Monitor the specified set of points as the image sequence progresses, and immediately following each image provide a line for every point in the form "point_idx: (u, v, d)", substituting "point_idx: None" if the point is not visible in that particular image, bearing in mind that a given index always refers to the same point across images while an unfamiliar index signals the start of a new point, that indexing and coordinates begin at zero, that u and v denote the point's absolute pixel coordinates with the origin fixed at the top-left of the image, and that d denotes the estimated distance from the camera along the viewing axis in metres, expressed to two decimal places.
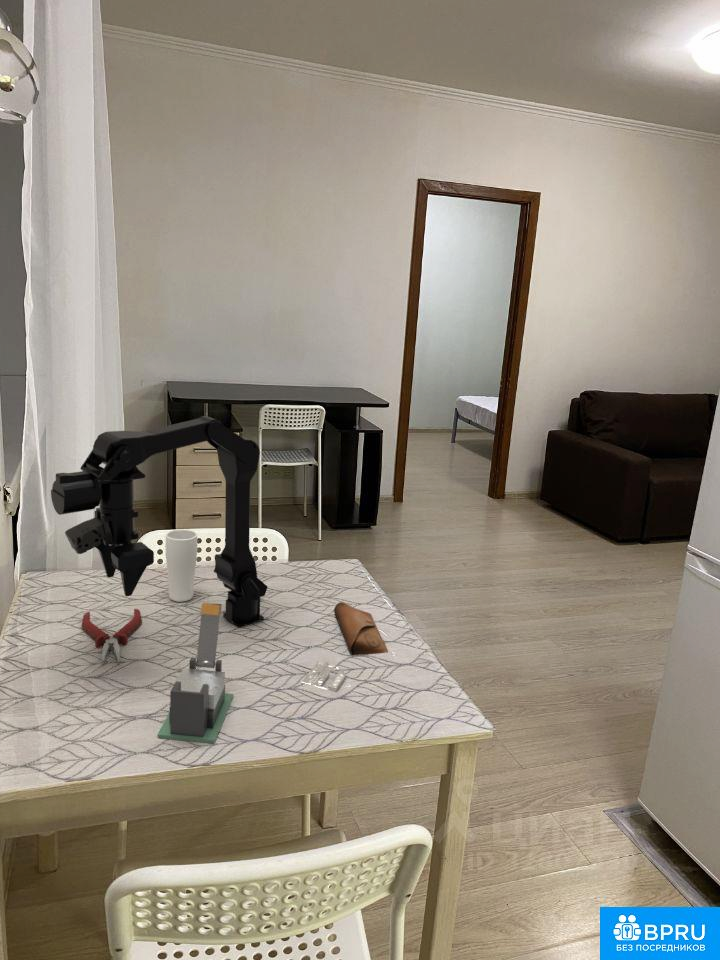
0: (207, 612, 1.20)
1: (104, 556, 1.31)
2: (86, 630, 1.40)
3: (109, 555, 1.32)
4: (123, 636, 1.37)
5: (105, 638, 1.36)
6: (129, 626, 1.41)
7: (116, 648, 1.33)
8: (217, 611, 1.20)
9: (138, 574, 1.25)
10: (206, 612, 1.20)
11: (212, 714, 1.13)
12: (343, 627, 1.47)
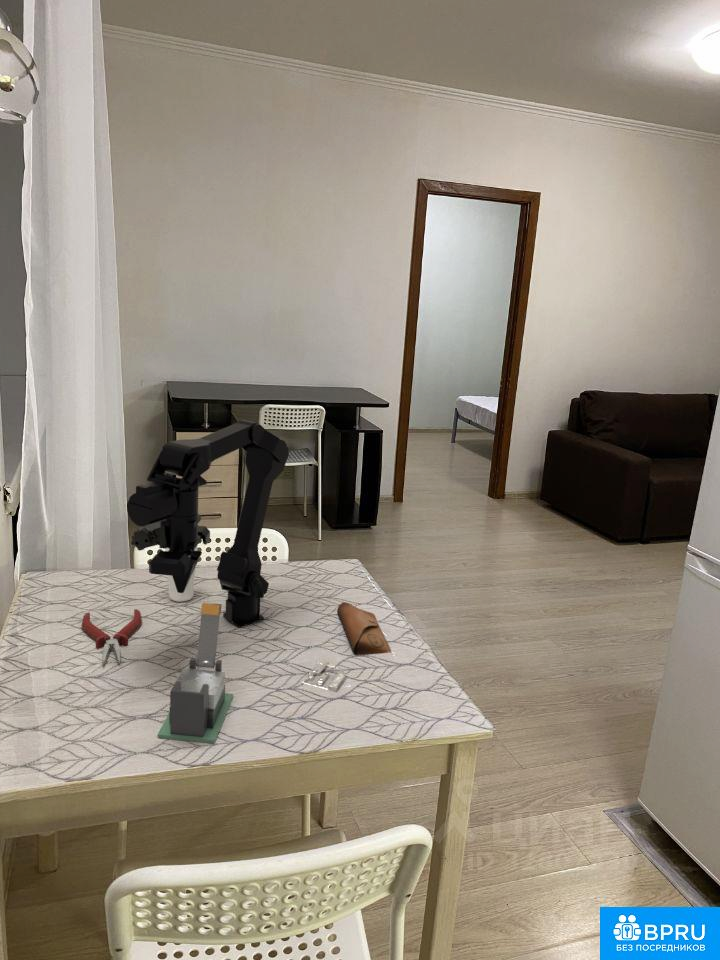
0: (207, 612, 1.20)
1: None
2: (86, 631, 1.40)
3: None
4: (123, 637, 1.37)
5: (105, 639, 1.36)
6: (129, 627, 1.41)
7: (117, 648, 1.33)
8: (217, 611, 1.20)
9: (186, 574, 1.29)
10: (206, 612, 1.20)
11: (212, 714, 1.13)
12: (346, 627, 1.47)
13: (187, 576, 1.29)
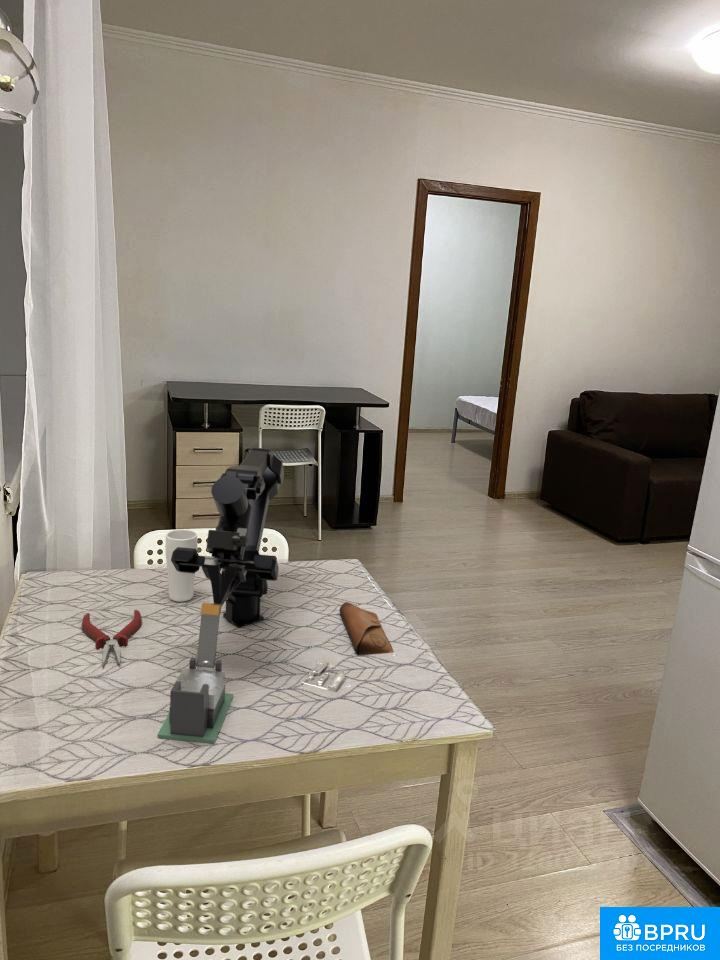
0: (207, 612, 1.20)
1: (218, 585, 1.27)
2: (86, 631, 1.40)
3: (219, 586, 1.27)
4: (123, 637, 1.36)
5: (105, 639, 1.35)
6: (129, 628, 1.40)
7: (117, 649, 1.33)
8: (217, 611, 1.20)
9: (231, 589, 1.28)
10: (206, 612, 1.20)
11: (212, 714, 1.13)
12: (349, 627, 1.47)
13: (231, 591, 1.28)
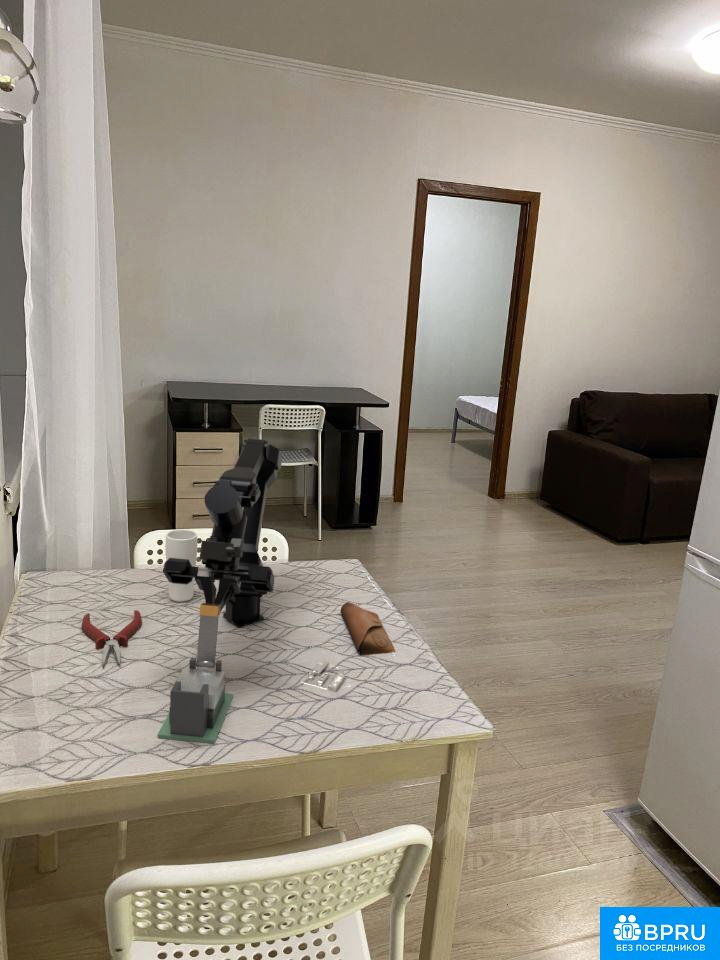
0: (206, 613, 1.19)
1: (212, 597, 1.22)
2: (86, 632, 1.39)
3: (213, 598, 1.23)
4: (123, 638, 1.36)
5: (105, 640, 1.35)
6: (129, 628, 1.40)
7: (117, 649, 1.33)
8: (216, 612, 1.19)
9: (225, 601, 1.24)
10: (205, 613, 1.19)
11: (212, 714, 1.13)
12: (350, 627, 1.47)
13: (225, 604, 1.24)
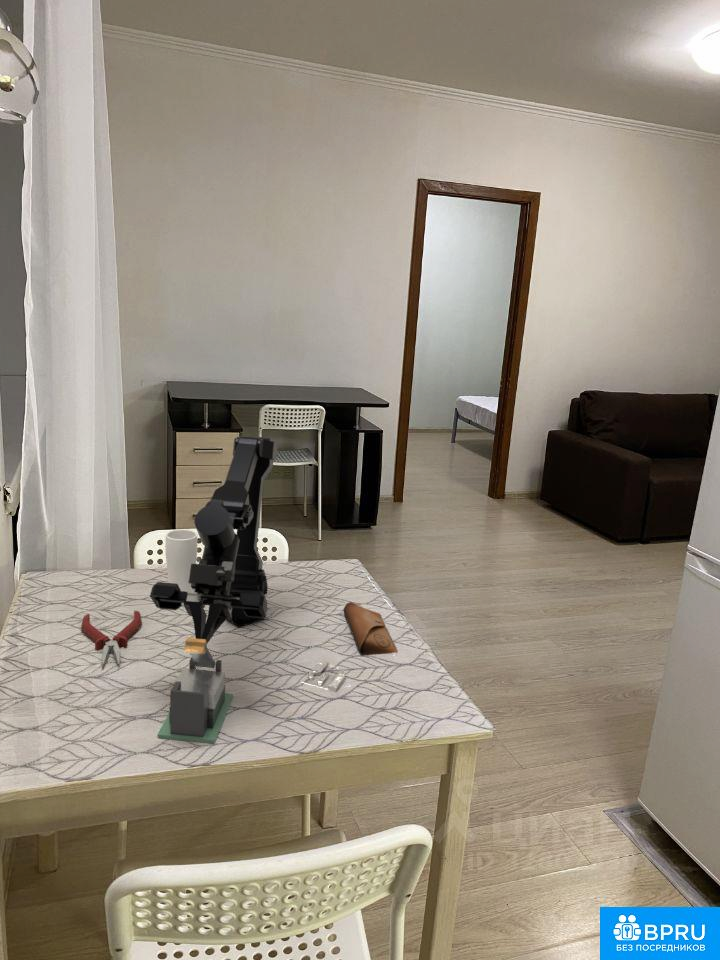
0: (192, 652, 1.12)
1: (201, 623, 1.16)
2: (86, 632, 1.39)
3: (202, 624, 1.17)
4: (123, 638, 1.36)
5: (105, 640, 1.35)
6: (129, 628, 1.40)
7: (116, 650, 1.32)
8: (203, 652, 1.12)
9: (216, 628, 1.18)
10: (191, 652, 1.12)
11: (212, 714, 1.13)
12: (353, 627, 1.47)
13: (215, 630, 1.18)
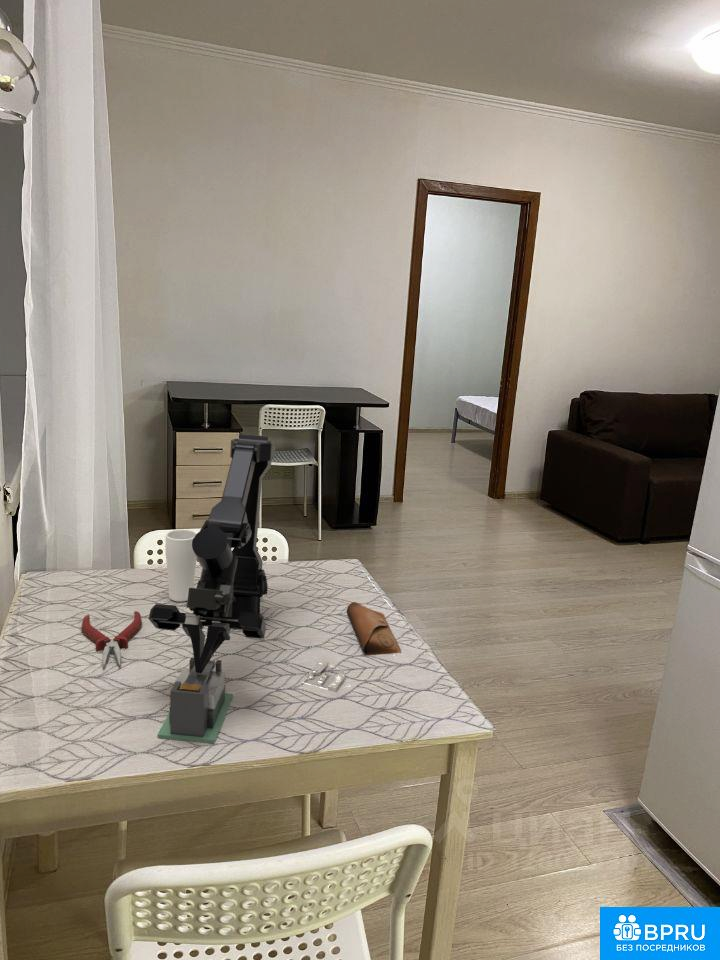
0: None
1: (200, 646, 1.17)
2: (86, 633, 1.39)
3: (201, 646, 1.17)
4: (124, 639, 1.36)
5: (105, 641, 1.35)
6: (130, 629, 1.40)
7: (117, 651, 1.32)
8: None
9: (214, 649, 1.19)
10: None
11: (212, 714, 1.13)
12: (356, 627, 1.47)
13: (214, 652, 1.19)
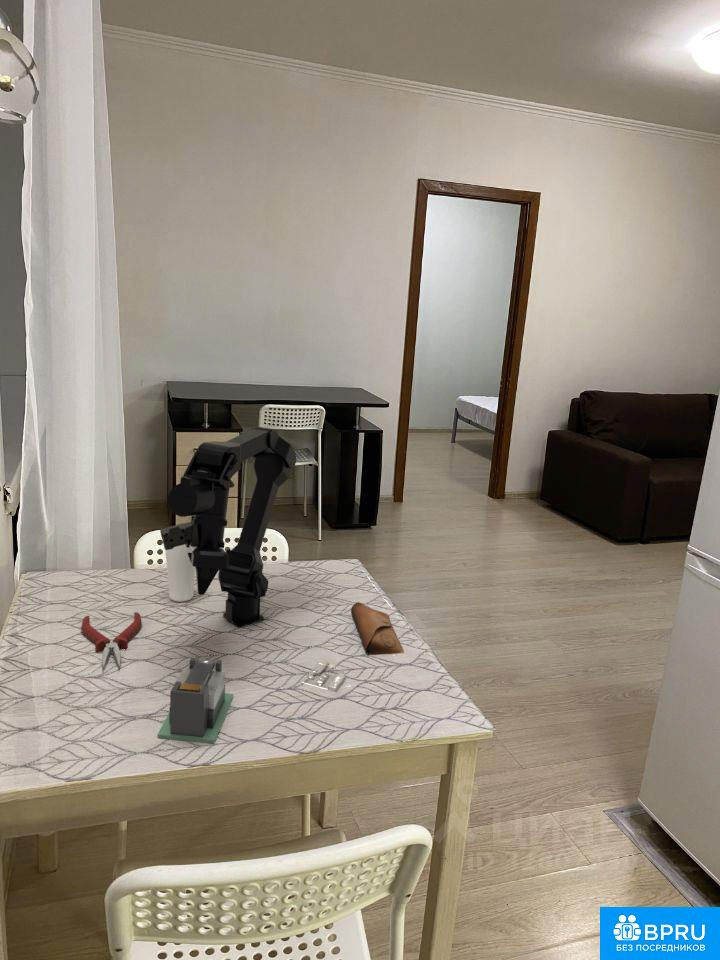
0: None
1: None
2: (86, 634, 1.39)
3: None
4: (123, 640, 1.35)
5: (105, 642, 1.34)
6: (129, 630, 1.39)
7: (117, 652, 1.32)
8: None
9: (212, 574, 1.31)
10: None
11: (212, 714, 1.13)
12: (359, 627, 1.47)
13: (213, 576, 1.31)
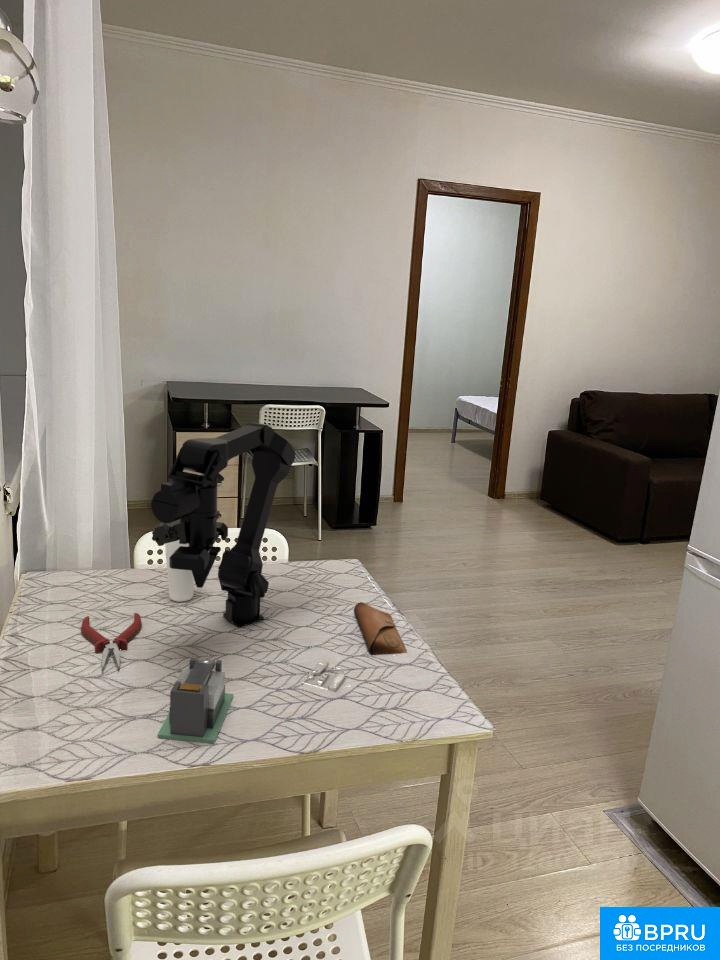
0: None
1: None
2: (86, 635, 1.38)
3: None
4: (123, 641, 1.35)
5: (105, 643, 1.34)
6: (129, 631, 1.39)
7: (116, 653, 1.32)
8: None
9: (205, 569, 1.32)
10: None
11: (212, 714, 1.13)
12: (362, 627, 1.47)
13: (206, 571, 1.32)
